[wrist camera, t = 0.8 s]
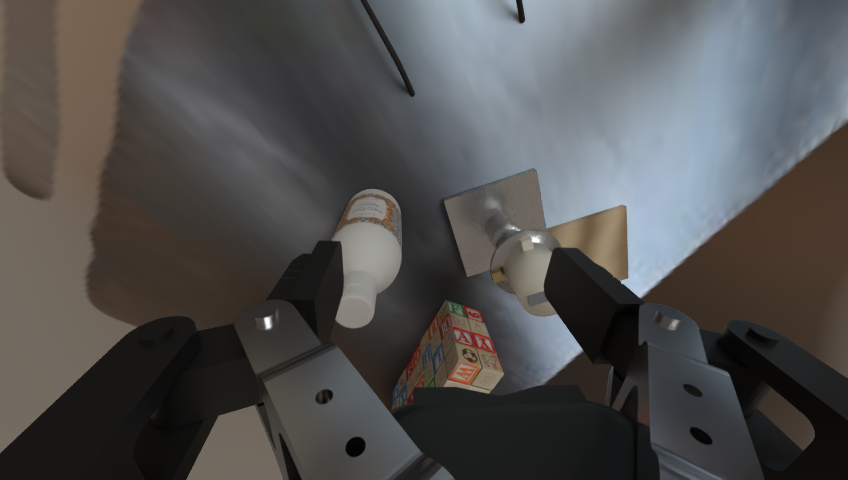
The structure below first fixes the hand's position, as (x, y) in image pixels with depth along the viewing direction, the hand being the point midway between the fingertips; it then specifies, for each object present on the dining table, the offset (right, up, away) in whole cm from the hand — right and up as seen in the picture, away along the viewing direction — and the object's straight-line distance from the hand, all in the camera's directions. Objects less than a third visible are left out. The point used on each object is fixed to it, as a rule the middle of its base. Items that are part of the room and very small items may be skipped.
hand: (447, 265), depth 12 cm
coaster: (+22, -1, +33) cm, 40 cm away
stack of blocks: (+1, -18, +39) cm, 43 cm away
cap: (+10, -2, +20) cm, 22 cm away
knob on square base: (+9, +3, +30) cm, 31 cm away
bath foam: (-7, +4, +28) cm, 29 cm away
